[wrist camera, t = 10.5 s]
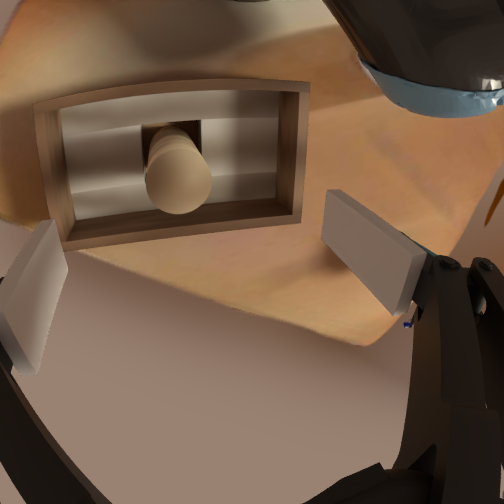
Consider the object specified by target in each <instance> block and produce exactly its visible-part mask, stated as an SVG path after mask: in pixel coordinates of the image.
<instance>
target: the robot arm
mask: <svg viewBox="0 0 504 504" xmlns="http://www.w3.org/2000/svg"><path fill="white" fill-rule="evenodd" d="M235 1H242V2H262V1H268V0H235ZM322 1H323V2H324V4H325V5H326V6H327V8H328V9H329V10H330V12H331V13H332V14H333V16H334V17H335V19H336V20H337V22H338V23H339V24H340V26H341V27H342V29H343V30H344V32H345V33H346V35H347V36H348V38H349V39H350V41H351V42H352V44H353V46H354V47H355V49H356V50H357V52H358V57H359V60H360V61H361V63H362V64H363V65H364V66H365V67H366V68H367V69H368V70H369V71H370V73H371V74H372V76H373V77H374V79H375V81H376V82H377V84H378V85H379V87H380V89H381V90H382V92H383V93H384V94H385V96H386V97H387V98H388V99H389V100H391V101H392V102H393V103H394V104H396V105H398V106H400V107H402V108H406V109H407V110H409V111H410V112H413V113H416V114H420V115H424V116H430V117H437V118H466V117H473V116H478V115H482V114H486V113H489V112H491V111H493V110H495V109H496V106H497V105H503V104H504V0H322ZM321 239H322V240H323V241H324V242H325V243H326V244H327V245H328V247H329V248H330V249H331V250H332V251H333V252H334V253H335V254H336V255H337V256H338V257H339V258H340V259H341V260H342V261H343V262H344V263H345V264H346V265H347V266H348V268H349V269H350V270H351V271H352V272H353V273H354V274H355V275H356V276H357V277H358V278H359V279H360V280H361V281H362V283H363V284H364V285H365V286H366V287H367V288H368V289H369V290H370V291H371V292H372V293H373V294H374V296H375V297H376V298H377V299H378V300H379V301H380V302H381V303H382V304H383V306H384V307H385V308H386V309H387V310H388V311H389V312H390V313H391V314H392V316H397V315H400V314H403V313H406V312H408V309H409V306H410V304H411V301H412V300H413V301H414V302H415V303H416V304H417V307H416V310H415V312H414V315H413V317H412V320H411V322H410V325H409V327H412V325H413V324H414V338H413V353H412V366H411V377H410V387H409V396H408V404H407V411H406V418H405V424H404V431H403V437H402V442H401V448H400V452H399V455H398V457H397V459H396V461H395V463H394V465H393V467H392V469H386V470H384V469H383V467H382V466H381V464H380V463H377V464H374V465H372V466H370V467H368V468H366V469H363V470H361V471H359V472H356V473H354V474H352V475H349V476H347V477H344V478H342V479H340V480H339V481H338V482H336V483H335V484H333V485H332V486H330V487H329V488H327V489H326V490H324V491H323V492H321V493H320V494H318V495H317V496H315V497H313V498H312V499H310V500H309V501H307V502H305V503H303V504H504V491H503V499H502V498H500V482H501V464H502V466H503V469H504V276H503V275H502V273H501V272H500V270H499V269H498V268H497V266H496V265H495V264H494V263H492V262H491V261H490V260H488V259H486V258H481V257H476V258H474V259H473V261H472V264H471V267H470V268H462V266H461V265H460V263H459V262H457V261H456V260H454V259H453V258H450V257H448V256H443V255H438V256H435V257H434V256H432V255H431V254H430V253H429V252H427V251H426V250H425V249H423V248H422V247H421V246H420V245H418V244H416V242H414V241H413V240H412V239H410V238H409V237H408V236H406V235H405V234H404V233H402V232H400V231H398V230H397V229H395V228H394V227H393V226H391V225H390V224H389V223H387V222H386V221H384V220H383V219H382V218H380V217H379V216H378V215H376V214H375V213H373V212H372V211H370V210H369V209H368V208H366V207H365V206H363V205H362V204H360V203H359V202H358V201H356V200H355V199H353V198H352V197H350V196H349V195H347V194H346V193H344V192H343V191H341V190H340V189H338V190H327V192H326V201H325V210H324V218H323V226H322V234H321ZM67 273H68V267H67V263H66V260H65V257H64V253H63V249H62V246H61V242H60V238H59V234H58V230H57V226H56V222H55V219H49V220H43V221H40V223H39V224H38V225H37V227H36V228H35V230H34V231H33V233H32V234H31V236H30V237H29V239H28V240H27V242H26V243H25V245H24V246H23V248H22V249H21V251H20V252H19V254H18V256H17V257H16V259H15V261H14V262H13V264H12V265H11V267H10V269H9V270H8V272H7V274H6V275H5V277H2V278H0V462H1V463H2V465H3V467H4V469H5V470H6V472H7V474H8V476H9V477H10V479H11V481H12V482H13V484H14V485H15V487H16V488H17V490H18V492H19V493H20V495H21V496H22V498H23V499H24V501H25V502H26V504H112V503H111V502H110V501H109V500H108V499H107V498H106V497H105V496H104V495H103V494H102V493H101V492H100V491H99V490H98V489H97V488H96V487H95V486H94V485H93V484H92V483H91V482H90V480H89V479H88V478H87V477H86V476H85V475H84V474H83V473H82V472H81V470H80V469H79V468H78V467H77V466H76V465H75V464H74V462H73V461H72V460H71V459H70V458H69V456H68V455H67V454H66V453H65V451H64V450H63V449H62V448H61V447H60V445H59V444H58V443H57V441H56V440H55V439H54V437H53V436H52V435H51V433H50V432H49V431H48V430H47V428H46V427H45V425H44V424H43V422H42V421H41V419H40V418H39V417H38V415H37V414H36V412H35V411H34V410H33V408H32V406H31V405H30V403H29V402H28V400H27V398H26V397H25V395H24V394H23V392H22V390H21V389H20V387H19V386H18V384H17V382H16V381H15V379H14V377H13V376H12V375H11V369H12V366H13V365H14V366H15V368H16V369H17V371H18V373H19V374H20V375H22V376H23V375H25V376H27V375H38V373H39V368H40V363H41V359H42V355H43V351H44V347H45V343H46V340H47V336H48V332H49V329H50V325H51V322H52V318H53V315H54V312H55V308H56V305H57V302H58V299H59V296H60V293H61V290H62V287H63V284H64V281H65V278H66V275H67ZM485 301H486V311H485V313H484V314H483V313H482V311H481V310H482V308H483V305H484V303H485ZM486 405H487V408H486Z"/></svg>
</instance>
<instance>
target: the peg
mask: <svg viewBox="0 0 504 504" xmlns="http://www.w3.org/2000/svg"><path fill="white" fill-rule="evenodd" d="M211 187H212V175H211V171H210V169H209V167H208V165H207V163H206V162H205V160H204V159H203V157H202V156H201V154H200V152H199V151H198V149H197V148H196V146H195V145H194V143H193V142H192V140H191V139H190V137H189V135H188V134H187V133H186V132H185V131H184V130H183V129H181V128H179V127H176V126H167V127H164V128H161V129H160V130H158V131H157V132H156V133H155V134H154V135H153V137H152V139H151V142H150V149H149V157H148V166H147V176H146V190H147V194H148V196H149V198H150V200H151V201H152V203H153V204H154V205H155V206H156V207H157V208H159V209H160V210H162V211H164V212H167V213H171V214H184V213H188V212H191V211H193V210H195V209H196V208H198V207H199V206H200V205H202V204H203V203H204V201H205V200H206V199H207V197H208V195H209V193H210V190H211Z"/></svg>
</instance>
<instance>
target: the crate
mask: <svg viewBox="0 0 504 504" xmlns="http://www.w3.org/2000/svg"><path fill="white" fill-rule="evenodd" d="M309 98H310V82H303V81H289V80H271V79H196V80H178V81H164V82H153V83H144V84H135V85H127V86H119V87H113V88H106V89H100V90H94V91H88V92H83V93H78V94H73V95H68V96H64V97H59V98H55V99H50V100H46V101H42V102H38V103H34V104H33V112H34V123H35V132H36V141H37V148H38V156H39V162H40V169H41V174H42V180H43V186H44V191H45V196H46V201H47V205H48V210H49V214H50V219H55V222H56V226H57V230H58V234H59V238H60V242H61V246H62V249H63V252H67V251H74V250H81V249H88V248H95V247H103V246H110V245H117V244H125V243H133V242H140V241H148V240H156V239H164V238H172V237H180V236H189V235H197V234H205V233H214V232H223V231H232V230H240V229H250V228H259V227H268V226H278V225H287V224H297V223H301V216H302V204H303V192H304V179H305V166H306V151H307V135H308V118H309ZM187 120H198V151H199V152H200V154H201V156H202V157H203V159H204V160H205V162H206V163H207V165H208V167H209V169H210V171H211V175H212V187H211V190H210V193H209V195H208V197H207V199H206V200H205V201H204V203H203V204H202V205H200V206H199V207H198V208H196V209H195V210H193V211H191V212H188V213H184V214H171V213H167V212H164V211H162V210H160V209H159V208H157V207H156V206H155V205H154V204H153V203H152V201H151V200H150V198H149V196H148V194H147V190H146V176H147V175H145V164H144V152H143V138H142V125H145V124H154V123H164V122H175V121H187Z"/></svg>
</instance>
